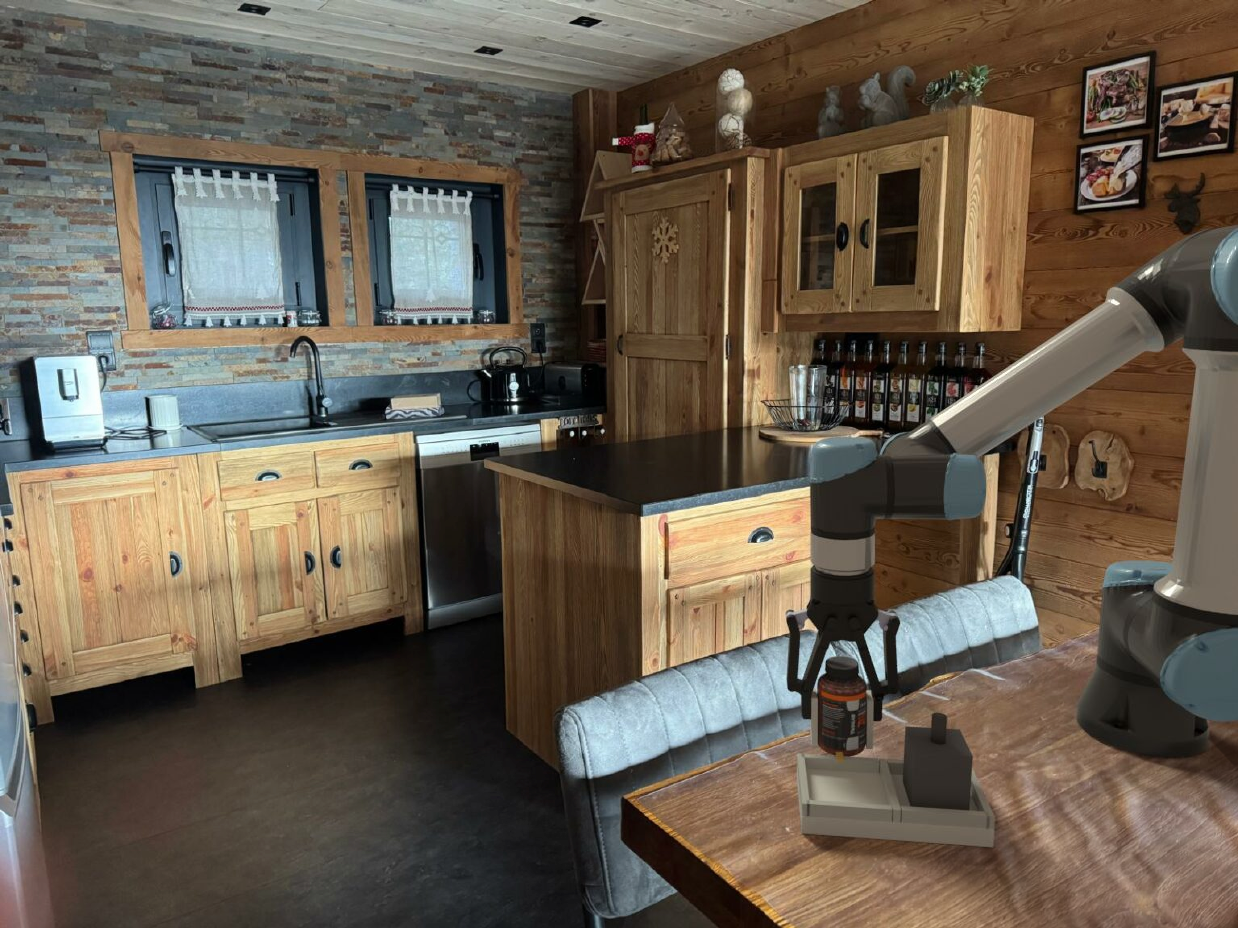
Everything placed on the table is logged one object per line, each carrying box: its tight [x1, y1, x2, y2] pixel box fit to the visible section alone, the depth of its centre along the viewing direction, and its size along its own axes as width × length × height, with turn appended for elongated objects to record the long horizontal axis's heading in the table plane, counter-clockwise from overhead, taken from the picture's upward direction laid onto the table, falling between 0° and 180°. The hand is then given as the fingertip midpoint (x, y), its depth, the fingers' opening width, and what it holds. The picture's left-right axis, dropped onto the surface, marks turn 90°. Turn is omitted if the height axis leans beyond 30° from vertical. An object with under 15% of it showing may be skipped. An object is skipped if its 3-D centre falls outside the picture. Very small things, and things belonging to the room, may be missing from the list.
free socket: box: [796, 752, 892, 822], centre depth 100 cm, size 10×11×2 cm
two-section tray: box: [796, 757, 996, 848], centre depth 99 cm, size 20×11×4 cm, turn 82°
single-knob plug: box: [903, 712, 974, 811], centre depth 97 cm, size 6×6×10 cm
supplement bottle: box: [816, 655, 868, 757], centre depth 108 cm, size 6×6×11 cm
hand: (841, 742), depth 109 cm, fingers closed on supplement bottle, 6 cm apart
